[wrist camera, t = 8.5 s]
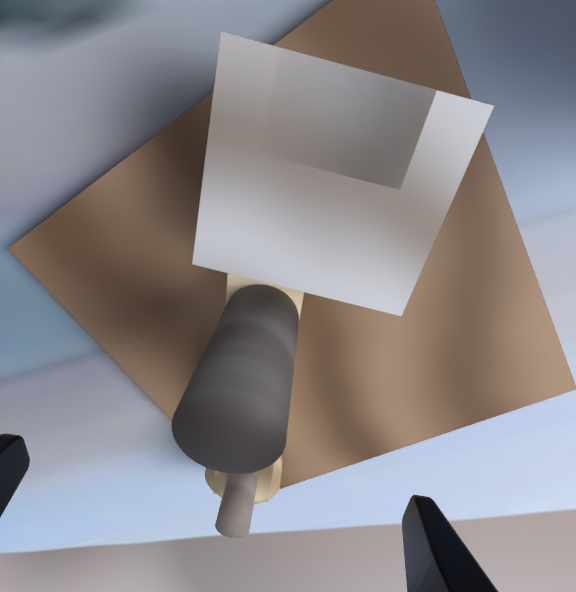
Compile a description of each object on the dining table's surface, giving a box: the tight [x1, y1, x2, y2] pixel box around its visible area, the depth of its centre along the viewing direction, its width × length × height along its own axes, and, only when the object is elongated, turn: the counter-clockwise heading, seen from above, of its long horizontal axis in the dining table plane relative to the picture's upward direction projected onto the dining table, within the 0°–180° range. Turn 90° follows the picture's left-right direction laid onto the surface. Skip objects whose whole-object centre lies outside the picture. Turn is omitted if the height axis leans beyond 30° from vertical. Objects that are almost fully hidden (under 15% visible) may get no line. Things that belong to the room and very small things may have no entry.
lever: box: [172, 273, 304, 538], centre depth 14 cm, size 18×4×8 cm, turn 173°
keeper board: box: [8, 0, 576, 489], centre depth 16 cm, size 19×19×5 cm
